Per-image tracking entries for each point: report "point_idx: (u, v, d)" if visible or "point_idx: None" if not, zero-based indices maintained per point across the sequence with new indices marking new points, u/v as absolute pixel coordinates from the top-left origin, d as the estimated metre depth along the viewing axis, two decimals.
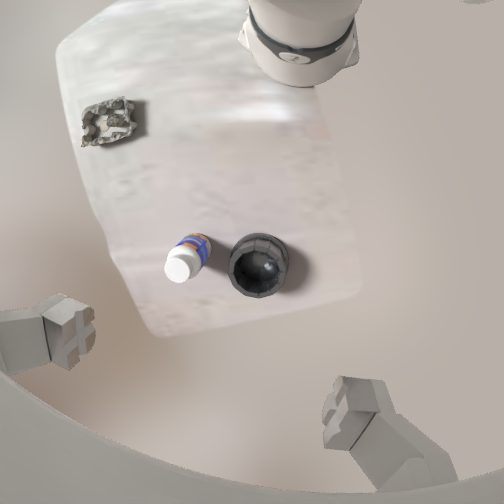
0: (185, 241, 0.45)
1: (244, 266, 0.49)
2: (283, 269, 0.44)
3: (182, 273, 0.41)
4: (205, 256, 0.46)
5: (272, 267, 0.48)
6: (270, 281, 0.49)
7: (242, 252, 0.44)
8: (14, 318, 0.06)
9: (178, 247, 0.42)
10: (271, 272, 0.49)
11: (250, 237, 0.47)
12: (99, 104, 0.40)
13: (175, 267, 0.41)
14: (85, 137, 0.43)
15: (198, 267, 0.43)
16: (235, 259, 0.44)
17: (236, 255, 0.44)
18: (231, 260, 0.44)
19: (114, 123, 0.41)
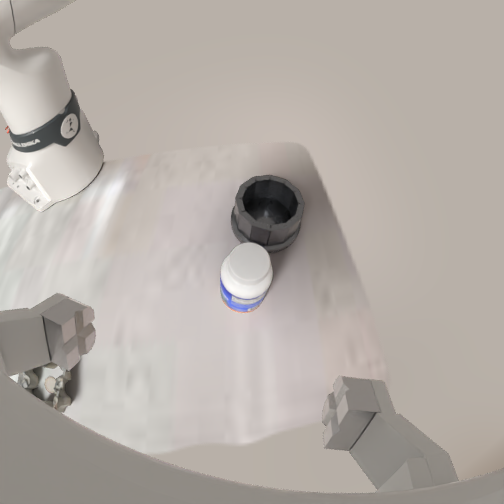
0: None
1: None
2: (267, 176, 0.39)
3: (254, 253, 0.28)
4: None
5: (272, 206, 0.41)
6: (289, 208, 0.41)
7: (243, 210, 0.36)
8: (14, 318, 0.06)
9: (221, 271, 0.30)
10: (279, 207, 0.41)
11: (233, 222, 0.40)
12: None
13: (244, 261, 0.27)
14: None
15: None
16: (251, 219, 0.35)
17: (246, 217, 0.35)
18: (252, 223, 0.35)
19: None
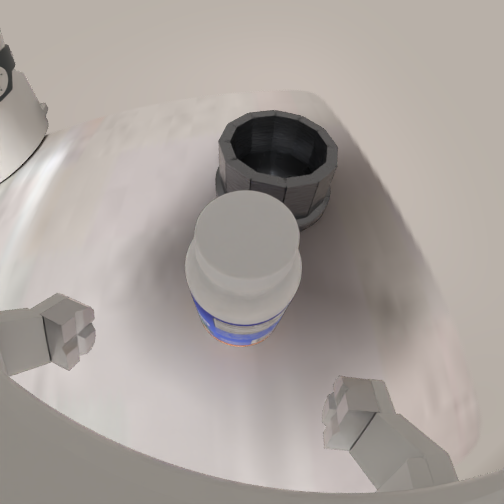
0: None
1: None
2: (270, 112, 0.22)
3: (258, 212, 0.11)
4: None
5: (282, 162, 0.25)
6: (309, 163, 0.24)
7: (232, 158, 0.19)
8: (14, 318, 0.06)
9: (186, 265, 0.13)
10: (292, 164, 0.25)
11: (219, 187, 0.23)
12: None
13: (233, 231, 0.11)
14: None
15: None
16: (249, 170, 0.19)
17: (239, 167, 0.19)
18: (251, 177, 0.18)
19: None
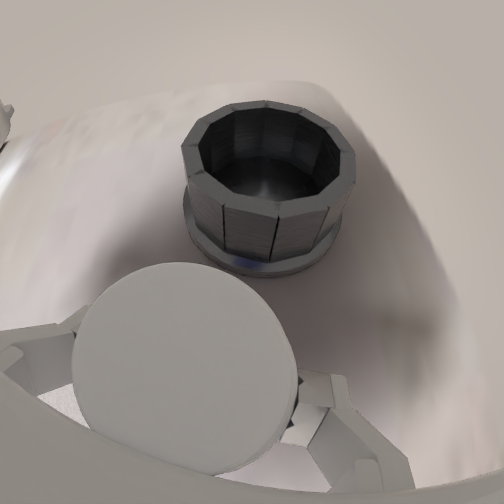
0: None
1: None
2: (259, 102, 0.16)
3: (200, 322, 0.05)
4: None
5: (276, 171, 0.18)
6: (313, 173, 0.18)
7: (199, 170, 0.13)
8: (43, 336, 0.06)
9: None
10: (290, 174, 0.18)
11: (188, 209, 0.17)
12: None
13: (141, 372, 0.04)
14: None
15: None
16: (221, 190, 0.12)
17: (206, 186, 0.12)
18: (224, 202, 0.12)
19: None
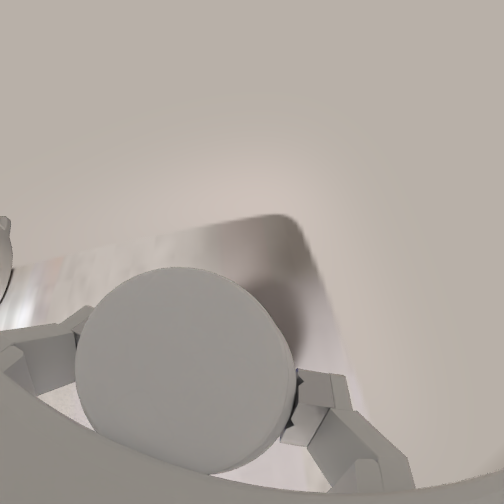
0: None
1: None
2: None
3: (198, 326, 0.05)
4: None
5: None
6: None
7: None
8: (43, 336, 0.06)
9: None
10: None
11: None
12: None
13: (142, 373, 0.04)
14: None
15: None
16: None
17: None
18: None
19: None
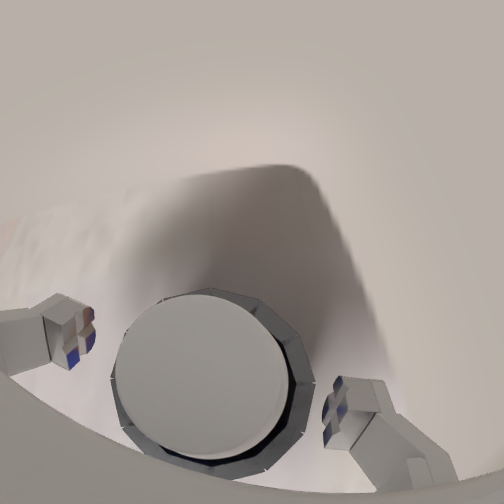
0: None
1: None
2: (202, 294, 0.13)
3: (214, 341, 0.06)
4: None
5: None
6: None
7: (131, 420, 0.10)
8: (14, 318, 0.06)
9: None
10: None
11: None
12: None
13: (172, 377, 0.06)
14: None
15: None
16: (155, 449, 0.10)
17: (141, 442, 0.10)
18: None
19: None
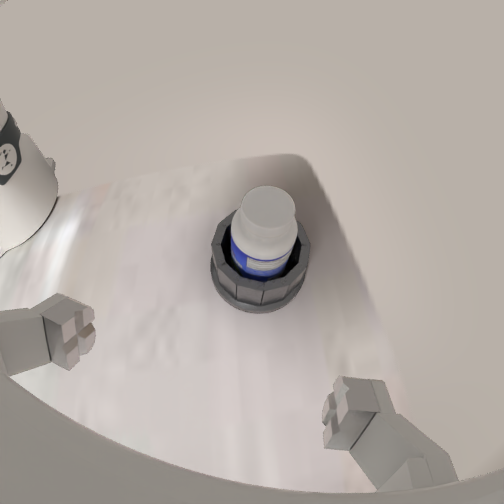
0: None
1: None
2: None
3: (274, 197, 0.21)
4: None
5: None
6: None
7: (222, 262, 0.25)
8: (14, 318, 0.06)
9: (232, 227, 0.23)
10: None
11: (214, 273, 0.29)
12: None
13: (261, 206, 0.21)
14: None
15: None
16: (235, 275, 0.24)
17: (227, 273, 0.25)
18: (237, 282, 0.24)
19: None
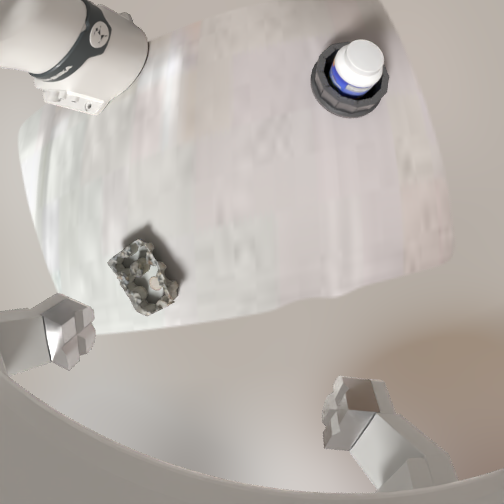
0: (332, 68, 0.27)
1: None
2: (346, 43, 0.27)
3: (368, 48, 0.22)
4: None
5: None
6: None
7: (327, 85, 0.28)
8: (14, 318, 0.06)
9: (337, 63, 0.25)
10: None
11: (314, 88, 0.32)
12: (128, 293, 0.41)
13: (361, 55, 0.22)
14: None
15: None
16: (337, 94, 0.29)
17: (331, 92, 0.29)
18: (339, 100, 0.29)
19: (137, 265, 0.40)
